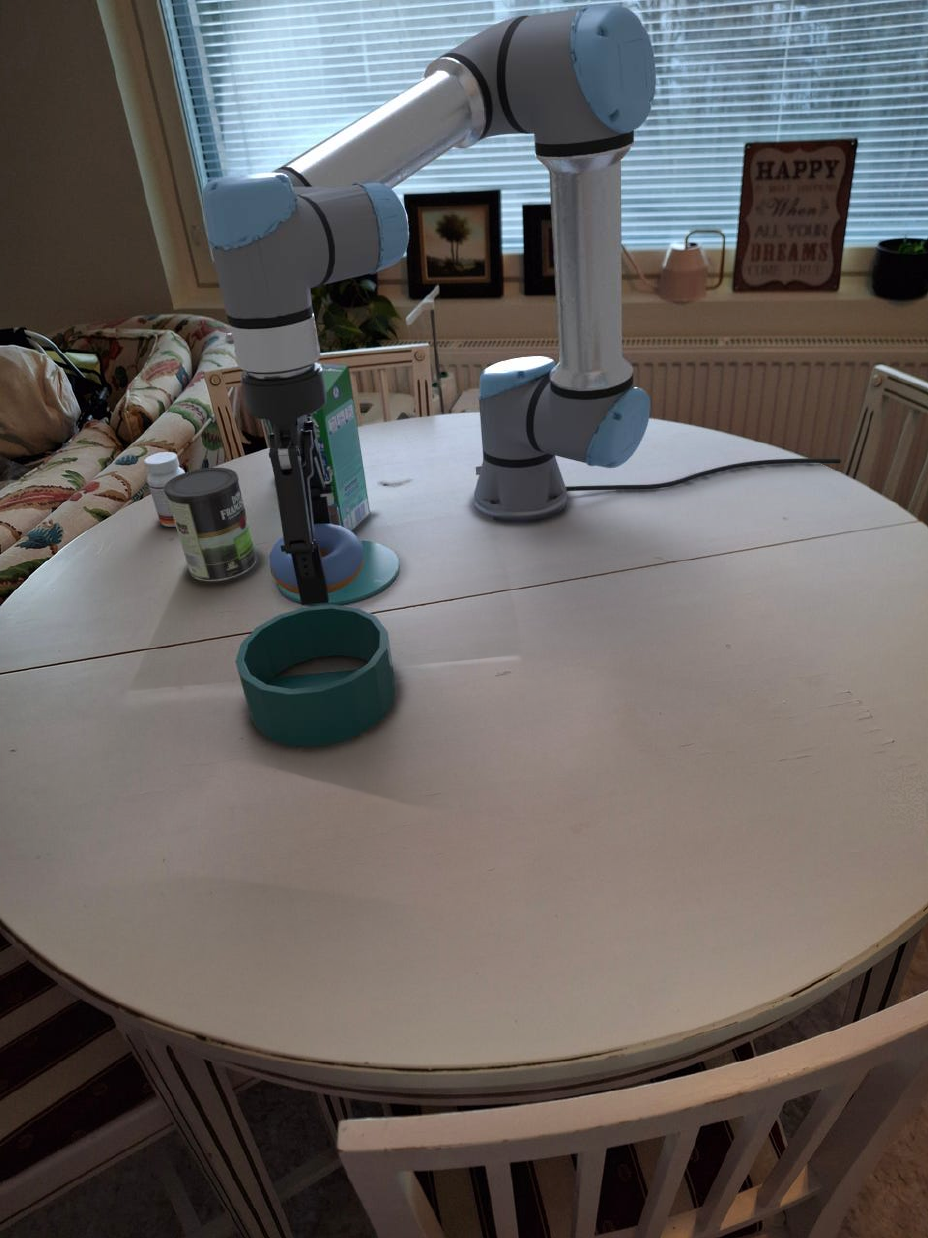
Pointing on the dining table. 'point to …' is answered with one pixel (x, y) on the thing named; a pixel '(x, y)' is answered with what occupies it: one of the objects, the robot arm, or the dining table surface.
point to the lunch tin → (316, 675)
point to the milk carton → (341, 447)
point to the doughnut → (323, 558)
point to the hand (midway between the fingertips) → (319, 575)
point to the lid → (361, 572)
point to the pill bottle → (162, 482)
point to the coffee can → (211, 523)
